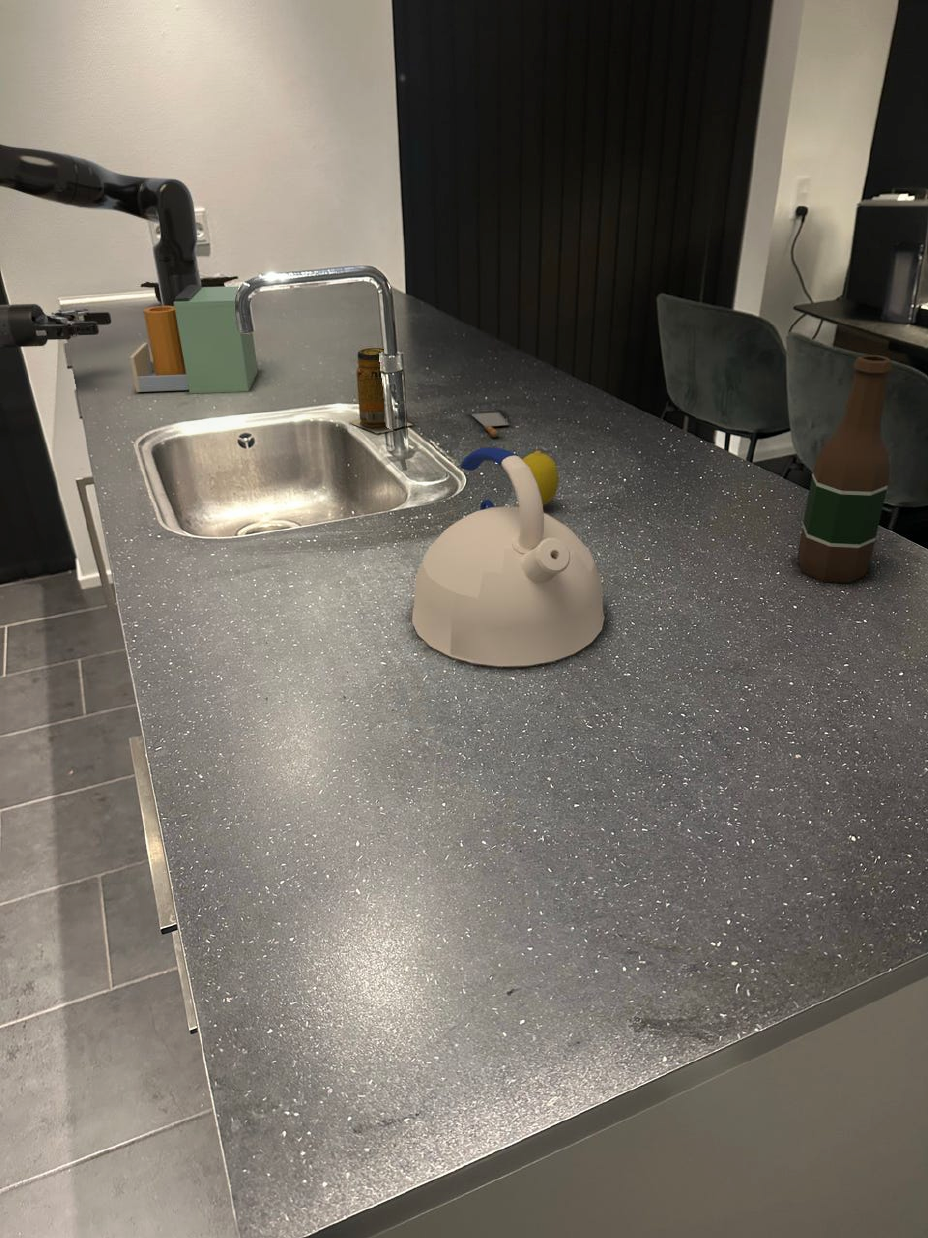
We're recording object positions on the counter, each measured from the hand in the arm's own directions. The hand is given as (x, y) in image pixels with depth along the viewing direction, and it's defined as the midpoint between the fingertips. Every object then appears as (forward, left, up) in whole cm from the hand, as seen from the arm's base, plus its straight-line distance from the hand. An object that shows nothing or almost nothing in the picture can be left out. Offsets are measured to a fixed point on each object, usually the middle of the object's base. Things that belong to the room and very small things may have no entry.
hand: (104, 322), depth 168 cm
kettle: (+96, +65, -12) cm, 117 cm away
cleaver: (+33, +70, -12) cm, 78 cm away
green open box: (0, +21, -12) cm, 24 cm away
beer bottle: (+89, +103, -12) cm, 137 cm away
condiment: (+30, +51, -12) cm, 60 cm away
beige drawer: (0, +10, -12) cm, 16 cm away
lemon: (+68, +72, -12) cm, 100 cm away
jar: (0, +11, -11) cm, 15 cm away
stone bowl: (-73, +1, -12) cm, 74 cm away
